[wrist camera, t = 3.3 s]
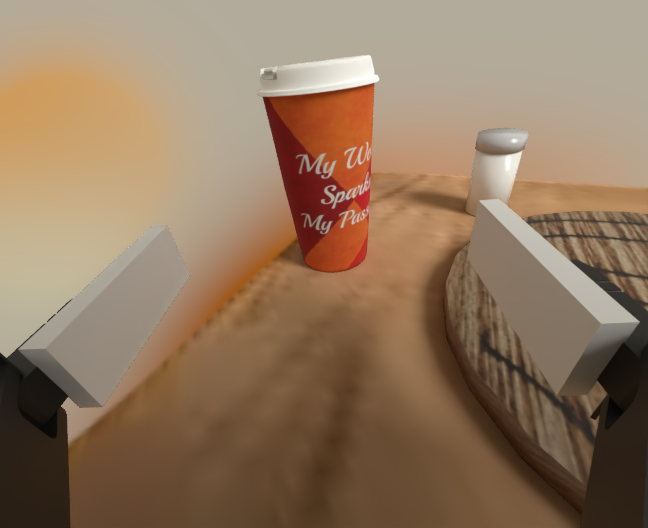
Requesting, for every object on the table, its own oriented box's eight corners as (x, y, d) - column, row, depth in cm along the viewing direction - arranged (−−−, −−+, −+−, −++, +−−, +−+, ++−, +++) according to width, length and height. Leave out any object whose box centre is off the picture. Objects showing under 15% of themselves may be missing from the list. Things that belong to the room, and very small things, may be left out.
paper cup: (323, 294, 22) (290, 65, 14) (276, 252, 27) (233, 71, 19) (399, 254, 25) (409, 49, 17) (344, 223, 30) (332, 58, 22)
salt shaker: (496, 200, 31) (514, 126, 27) (514, 217, 28) (537, 136, 24) (458, 203, 31) (471, 131, 27) (472, 220, 28) (488, 140, 24)
